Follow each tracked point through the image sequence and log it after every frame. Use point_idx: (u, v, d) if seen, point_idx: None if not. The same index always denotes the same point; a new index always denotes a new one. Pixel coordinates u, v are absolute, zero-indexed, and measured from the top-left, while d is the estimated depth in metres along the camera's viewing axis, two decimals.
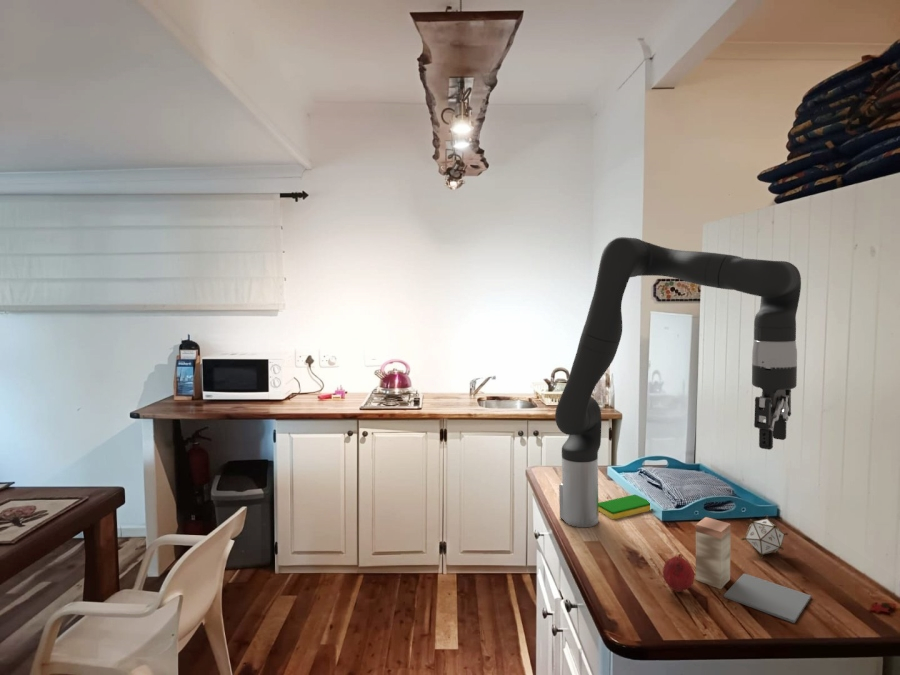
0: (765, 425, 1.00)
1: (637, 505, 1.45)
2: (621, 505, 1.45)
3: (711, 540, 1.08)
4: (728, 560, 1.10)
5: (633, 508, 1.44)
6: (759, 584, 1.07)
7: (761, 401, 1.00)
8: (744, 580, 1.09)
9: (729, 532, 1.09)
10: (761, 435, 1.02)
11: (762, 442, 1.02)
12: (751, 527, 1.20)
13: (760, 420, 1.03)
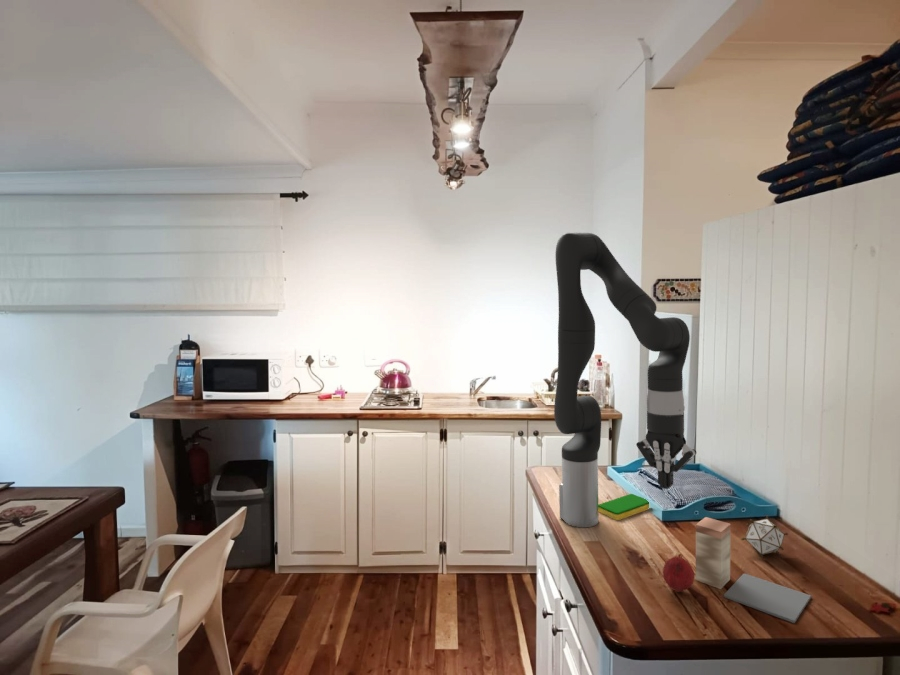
0: None
1: (638, 504, 1.45)
2: (622, 505, 1.45)
3: (711, 540, 1.08)
4: (728, 560, 1.10)
5: (634, 508, 1.44)
6: (759, 584, 1.07)
7: (692, 455, 1.12)
8: (744, 580, 1.09)
9: (729, 532, 1.09)
10: (670, 477, 1.15)
11: (671, 483, 1.15)
12: (751, 527, 1.20)
13: (670, 466, 1.15)
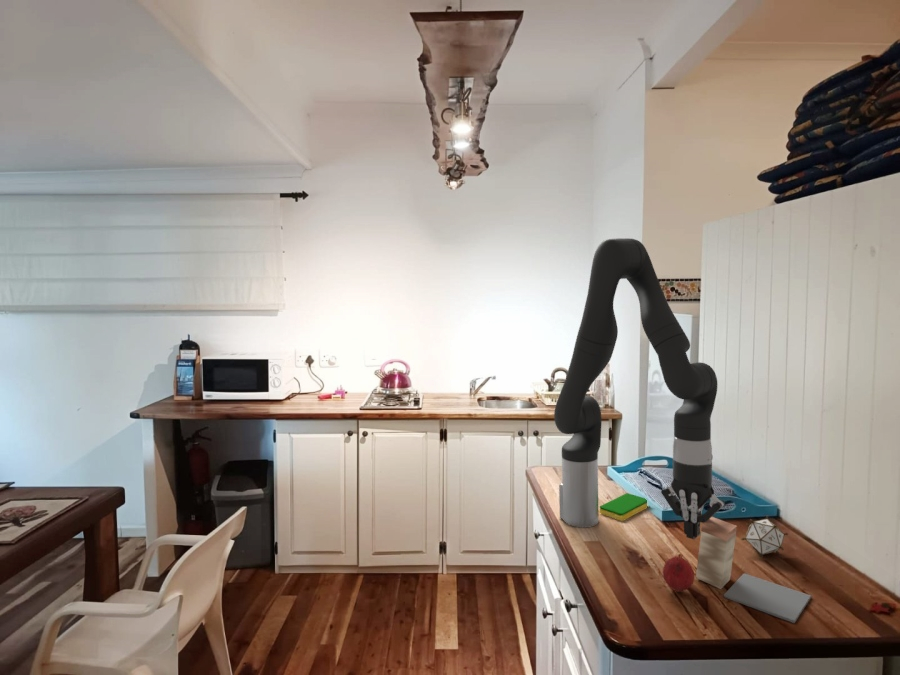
0: None
1: (638, 504, 1.46)
2: (624, 505, 1.45)
3: (716, 541, 1.07)
4: (730, 561, 1.09)
5: (636, 507, 1.44)
6: (759, 584, 1.07)
7: (721, 507, 1.08)
8: (744, 580, 1.09)
9: (735, 534, 1.09)
10: (697, 527, 1.12)
11: (697, 533, 1.12)
12: (751, 527, 1.20)
13: (697, 516, 1.11)
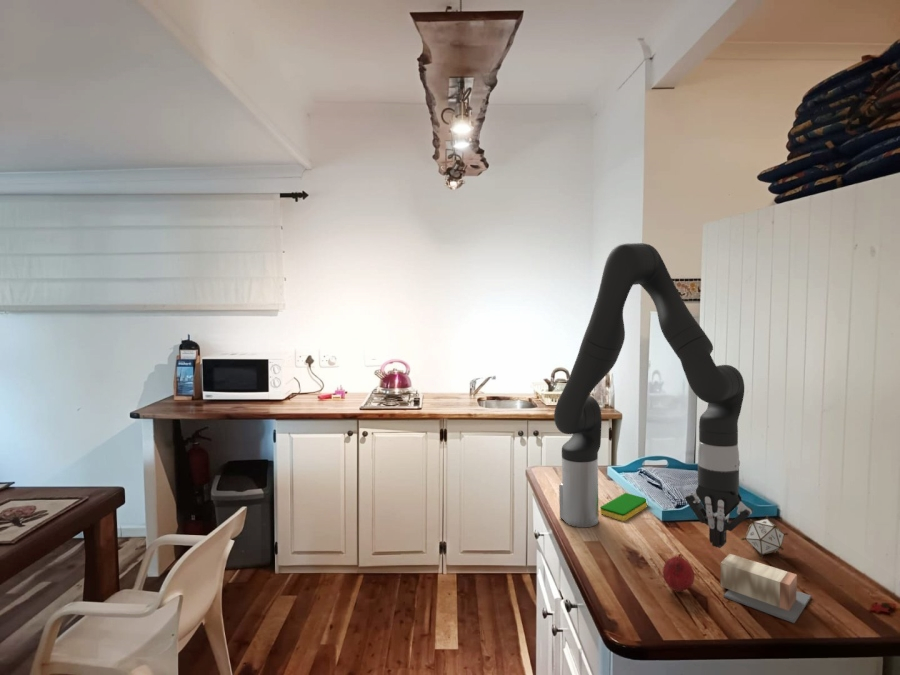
0: None
1: (638, 503, 1.46)
2: (624, 505, 1.45)
3: (774, 596, 1.00)
4: None
5: (636, 507, 1.44)
6: None
7: None
8: None
9: None
10: (724, 535, 1.08)
11: (724, 542, 1.08)
12: (751, 527, 1.20)
13: (723, 524, 1.07)
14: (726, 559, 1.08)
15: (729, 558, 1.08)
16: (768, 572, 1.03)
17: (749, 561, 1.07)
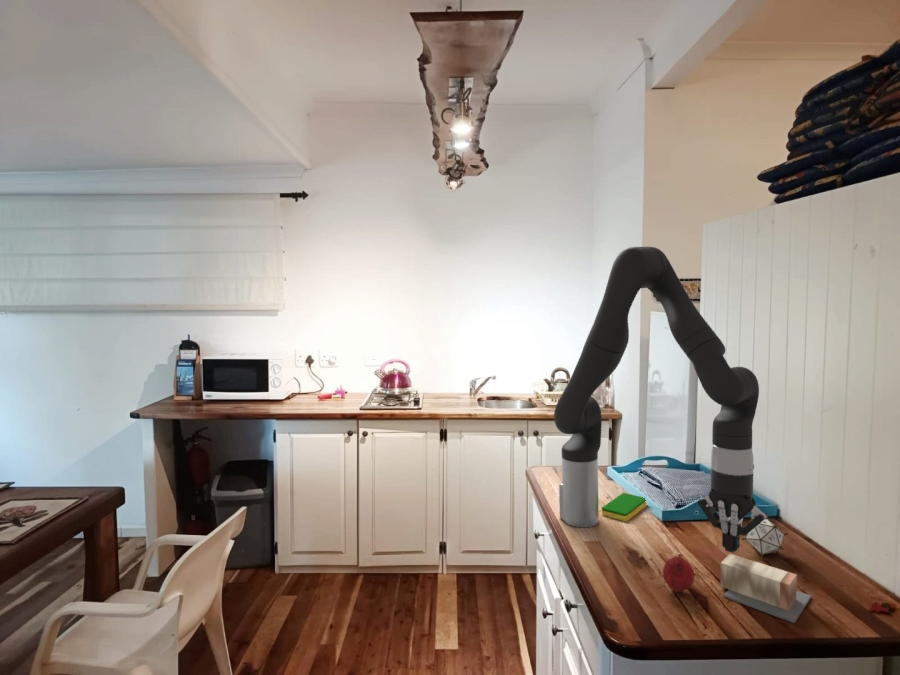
0: None
1: (638, 503, 1.46)
2: (625, 506, 1.45)
3: (774, 596, 1.00)
4: None
5: (636, 507, 1.45)
6: None
7: (763, 519, 1.02)
8: None
9: None
10: (737, 540, 1.06)
11: (737, 546, 1.06)
12: None
13: None
14: (726, 559, 1.08)
15: (729, 558, 1.08)
16: (768, 572, 1.03)
17: (749, 561, 1.07)
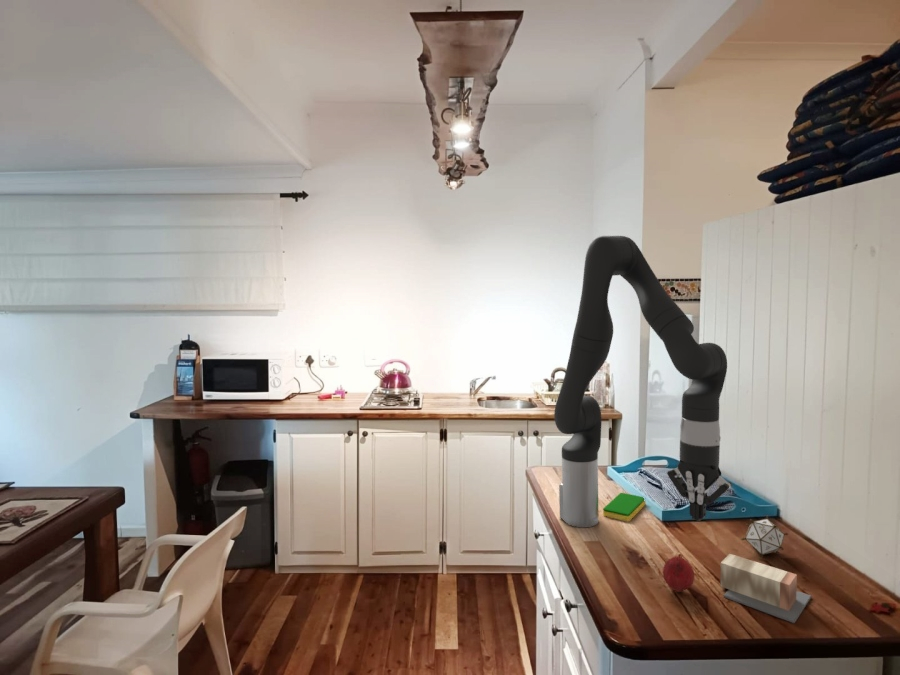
0: None
1: (637, 502, 1.46)
2: (626, 506, 1.45)
3: (774, 596, 1.00)
4: None
5: (637, 506, 1.45)
6: None
7: (728, 488, 1.07)
8: None
9: None
10: (703, 509, 1.11)
11: (703, 515, 1.11)
12: (751, 527, 1.20)
13: (703, 498, 1.10)
14: (726, 559, 1.08)
15: (729, 558, 1.08)
16: (768, 572, 1.03)
17: (749, 561, 1.07)
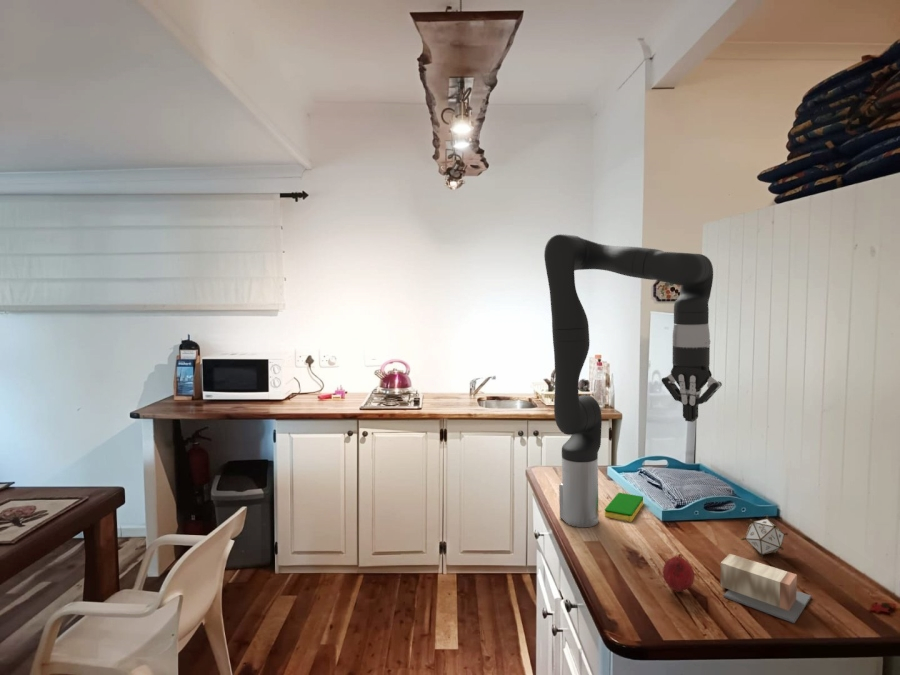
0: None
1: (637, 502, 1.47)
2: (626, 506, 1.45)
3: (774, 596, 1.00)
4: None
5: (637, 506, 1.45)
6: None
7: (718, 387, 1.14)
8: None
9: None
10: (696, 410, 1.18)
11: (696, 415, 1.18)
12: (751, 527, 1.20)
13: (695, 399, 1.17)
14: (726, 559, 1.08)
15: (729, 558, 1.08)
16: (768, 572, 1.03)
17: (749, 561, 1.07)
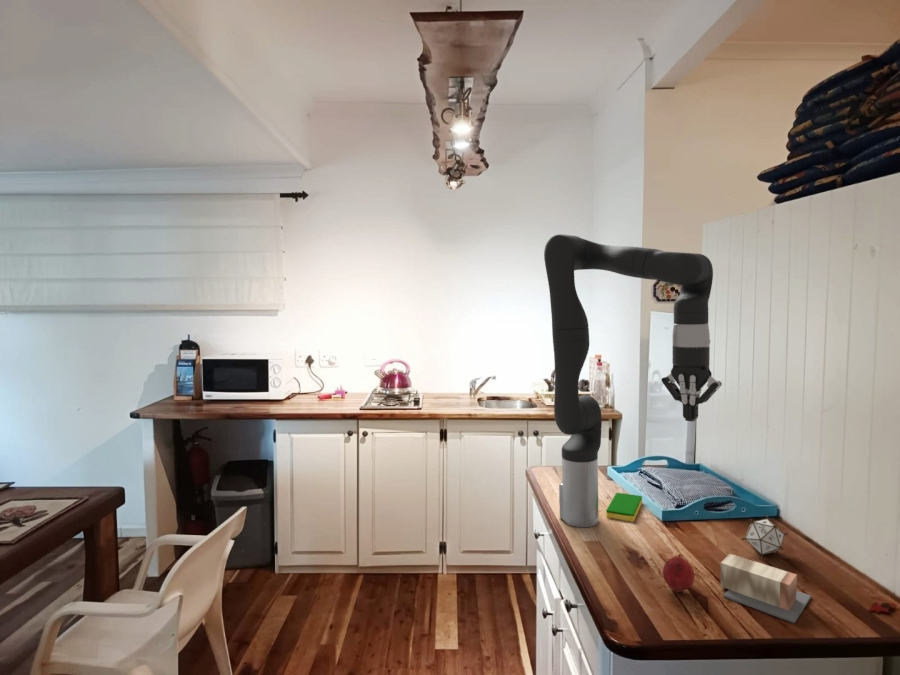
0: (706, 398, 1.17)
1: (637, 502, 1.47)
2: (627, 506, 1.45)
3: (774, 596, 1.00)
4: None
5: (637, 505, 1.45)
6: None
7: (718, 387, 1.14)
8: None
9: None
10: (696, 409, 1.18)
11: (696, 415, 1.18)
12: (751, 527, 1.20)
13: (695, 398, 1.17)
14: (726, 559, 1.08)
15: (729, 558, 1.08)
16: (768, 572, 1.03)
17: (749, 561, 1.07)
